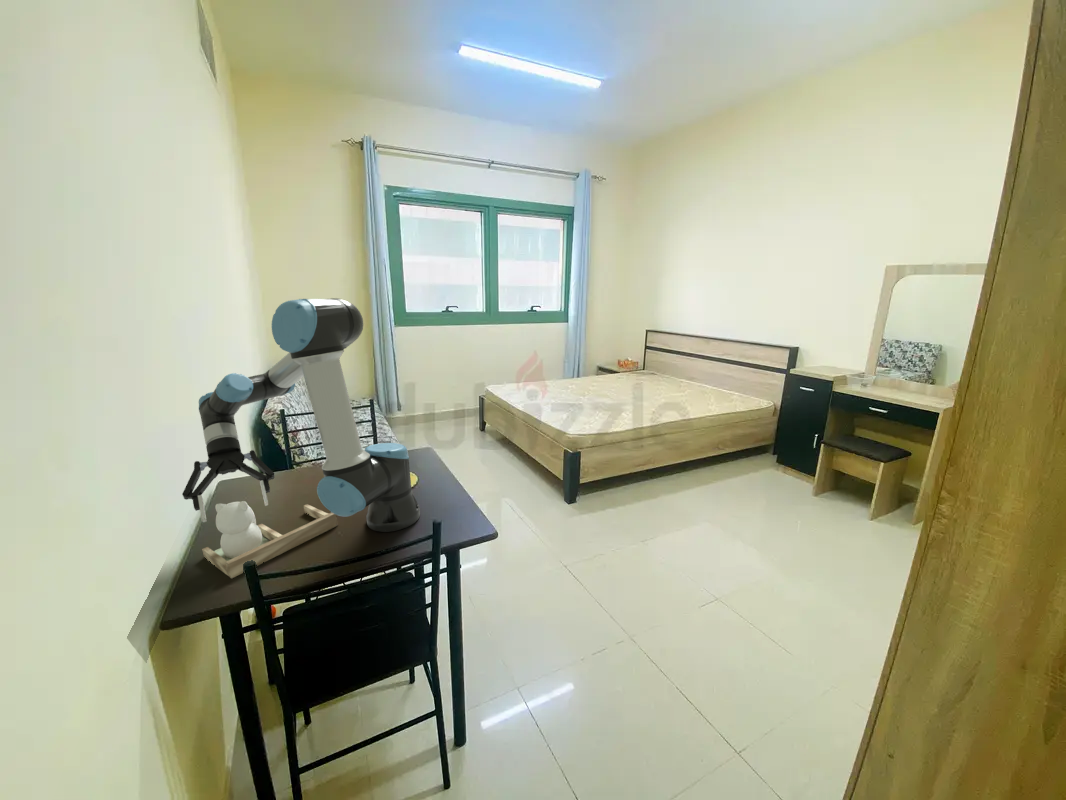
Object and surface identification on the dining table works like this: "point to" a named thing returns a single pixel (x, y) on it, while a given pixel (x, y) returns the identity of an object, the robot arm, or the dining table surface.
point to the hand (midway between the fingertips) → (236, 511)
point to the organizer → (273, 543)
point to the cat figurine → (237, 528)
